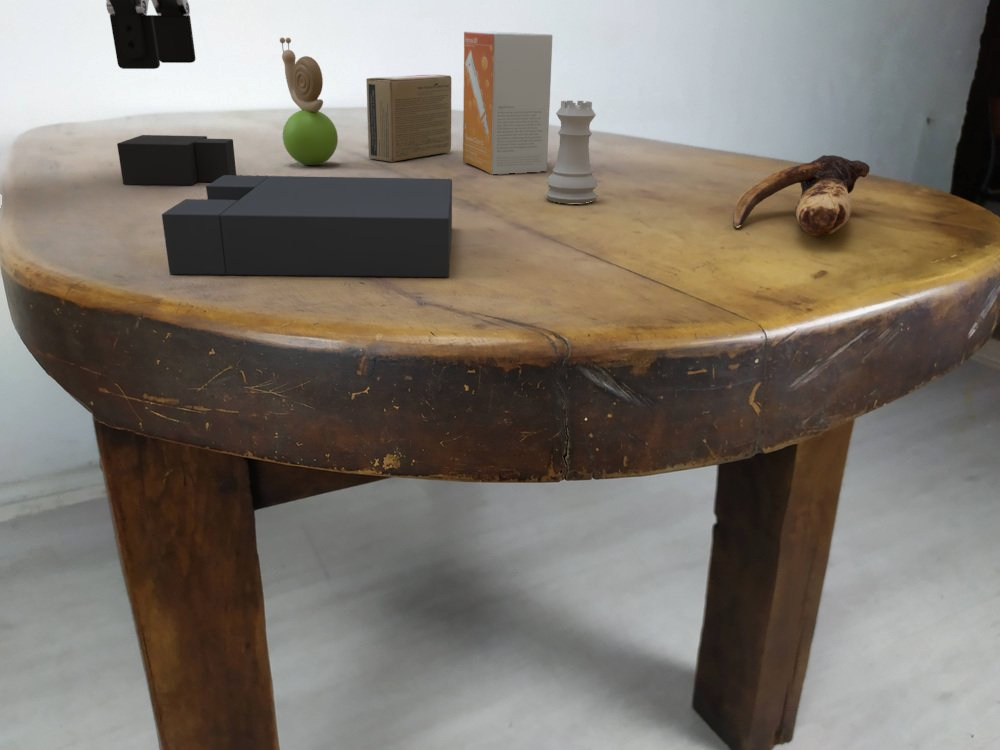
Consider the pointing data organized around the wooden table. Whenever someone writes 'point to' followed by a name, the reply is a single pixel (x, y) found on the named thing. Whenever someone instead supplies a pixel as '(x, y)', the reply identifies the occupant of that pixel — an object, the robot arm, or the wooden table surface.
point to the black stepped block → (175, 159)
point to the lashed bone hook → (811, 192)
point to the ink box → (408, 116)
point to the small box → (506, 101)
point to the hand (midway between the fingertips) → (159, 65)
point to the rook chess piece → (573, 156)
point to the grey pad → (313, 227)
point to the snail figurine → (307, 112)
